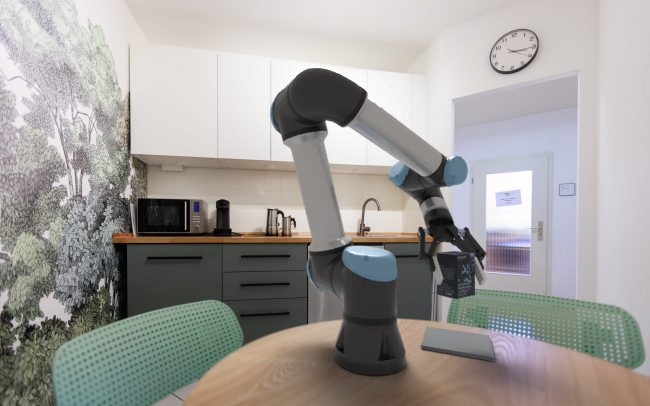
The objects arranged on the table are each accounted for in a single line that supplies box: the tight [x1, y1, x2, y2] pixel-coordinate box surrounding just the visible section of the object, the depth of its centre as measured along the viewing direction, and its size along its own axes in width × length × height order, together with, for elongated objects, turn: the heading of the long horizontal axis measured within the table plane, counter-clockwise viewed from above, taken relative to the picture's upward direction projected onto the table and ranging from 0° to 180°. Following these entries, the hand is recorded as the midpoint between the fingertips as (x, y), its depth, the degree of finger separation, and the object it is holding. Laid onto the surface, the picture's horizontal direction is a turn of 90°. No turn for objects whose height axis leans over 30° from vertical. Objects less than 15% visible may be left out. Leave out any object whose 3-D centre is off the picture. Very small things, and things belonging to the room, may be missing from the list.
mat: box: [420, 326, 496, 362], centre depth 73 cm, size 15×14×1 cm
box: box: [436, 250, 476, 300], centre depth 74 cm, size 8×6×11 cm
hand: (461, 281), depth 71 cm, fingers closed on box, 9 cm apart
